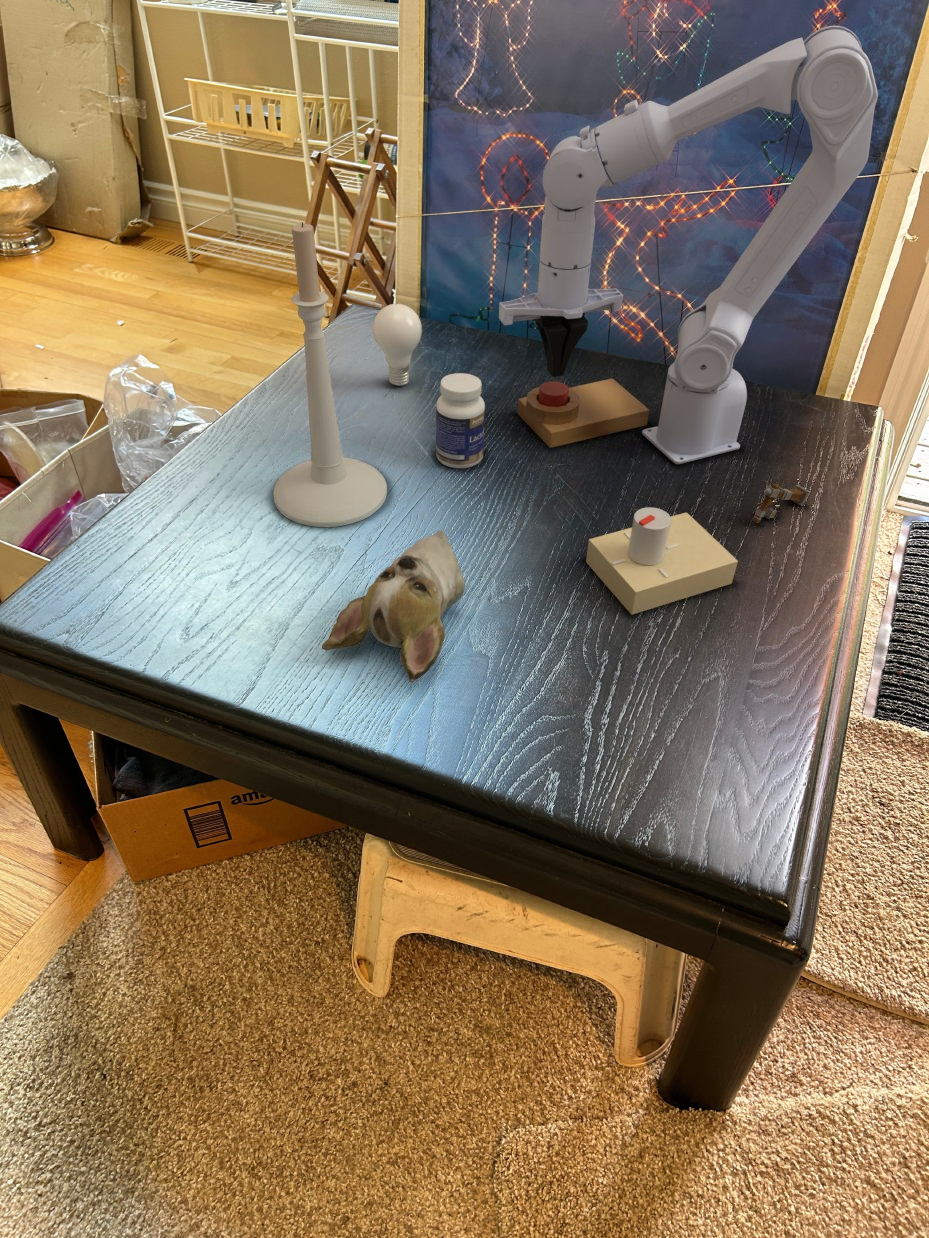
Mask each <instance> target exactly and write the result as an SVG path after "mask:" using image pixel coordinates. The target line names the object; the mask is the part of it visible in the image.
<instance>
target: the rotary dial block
mask: <svg viewBox="0 0 929 1238" xmlns="http://www.w3.org/2000/svg"><path fill="white" fill-rule="evenodd" d="M670 517H671V526H670V530H669V535H668V540H667V545H666V550H665V554H664V559H663V560H662V561H661V562H660V563H658V564H656V565H650V566H647V565H641V564H638V563H636V562H634V561H633V560H631V558H630V557H629V555H628V548H629V542H630V537H631V531H632V527H629V528H625V529H621V530H618V531H614V532H610V533H607V534H603V535H600V536H596V537H593V538H589V539H588V543H587V552H586V557H585V558H586V560H585V562H586V564H587V565H588V566H589V568H591V570H592V571H593V572H594V573H595V574H596V576H597V577H598V578H599V579H600V580H601V581H602V582H603V584H604V585H605V586H606V587H607V588H608V589H609V590H610V592H611V593H612V594H613V595H614V596H615V597H616V599H617V600H618V601H619V602H620V603H621V604H622V606H623V607H624V608H625V609H626V610H627V612H628V614H630V615H631V616H632V615H636V614H639V613H642V612H645V611H649V610H653V609H655V608H658V607H660V606H665V605H668V604H671V603H674V602H678V601H680V600H684V599H688V598H691V597H693V596H697V595H700V594H703V593H707V592H710V591H712V590H717V589H719V588H723V587H725V586H729V585H732V584H733V580H734V578H735V573H736V571H737V566H738V563H739V560H738V559H737V558H735V556H734V555H732V553H730V551H728V550H727V549H726V548H725V547H724V546H723V545H722V544H721V543H720V542H719V541H718V540H716V539H715V538H714V536H712V535H711V534H710V533H709V532H708V531H707V530H706V529H705V528H704V527H703V526H702V525H701V524H700V523H698V521H696V520H695V519H694V518H693V516H691V515H690V514H689V513H688V512H683V513H679V514H675V515H672V516H670Z"/></svg>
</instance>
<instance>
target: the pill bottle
mask: <svg viewBox="0 0 929 1238" xmlns="http://www.w3.org/2000/svg"><path fill="white" fill-rule="evenodd" d="M439 386H440V388H439V392H440V394H441V395H440V396H439V397H438V399H437V400H436V406H435V456H436V458H437V461H439V462H440V463H441V464H442V465H444V466H445V467H449V468H452V469H468V468H472V467H474V466H477V465H478V464H479V463H480V462H481V461H482V460H483V458H484V451H485V450H484V449H485V448H484V447H485V446H484V445H485V420H486V419H485V418H486V403H485V401H484V398H482V396H481V394H482V390H483V389H482V387H483V385H482V381H481V379H480V378H479V377H478V376H475V375H473V374H470V373H466V372H465V373H463V372H458V373H457V372H455V373H449V374H447V375H445V376H443V377H442V379H440V385H439Z"/></svg>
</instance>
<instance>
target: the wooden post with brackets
mask: <svg viewBox="0 0 929 1238" xmlns="http://www.w3.org/2000/svg"><path fill="white" fill-rule="evenodd" d="M810 493H811V491H810V490H808V489H806V488H805V487H802V486H801V485H799V484H795V486H794V488H793V489H787V488H783V487H780V486H779V484H777V483H773V484H771V486H770V485H767V486H766V488H765V490H764V492H763V494H764V495H765V497H764V499H763V500H762V502H761V504H760V506H759V507H758V508H757V509H756V511H755V513H754V516H753V518H752V521H753V522H754V523H757V524H759V523H760V522H761V520H762V518H765V519H767V520H770V518H771V519H774V518H775V517H776V515H777V513H778V511H777V510H776V509H774V508H772V507H769V506H770V505H771V504H772V503H773V502H774V501H775V500H776V499H780V500H784V501H785V500H786V501H793V502H794V503H795V504H797V505H799V506H801V507H803V506H804V505H805V503H806V501H807V499H808V497H809V496H810Z"/></svg>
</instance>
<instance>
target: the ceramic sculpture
mask: <svg viewBox="0 0 929 1238" xmlns="http://www.w3.org/2000/svg"><path fill="white" fill-rule="evenodd" d="M465 589H466V581H465V578H464V577H463V574H462V570H461V567H460V564H459V562H458V559H457V558H456V555H455V552H454V549H453V547H452V545H451V543H450V541H449V540H448V537H447V534H446V532H445V531H444V530H442V529H440V530H438V531H436V532H435V533H434V534H431V535H429V536H426V537H424V538H422V539H419V540H417V541H416V542H415V543H414V544H412V545H411V546H409V547H408V548H407V549H406V550H405V551H403V553H402V554H401V555H400V556H398V557H397V558H395V559H394V560H393V562H392V563H391V564H390V566H388V567H386V568H385V569H384V570H383V571H382V572H380V573H379V575H378V576H377V578H375V580H374V582H373V583H372V584H371V585H369V587H368V589H367V591H366V593H365V595H363V596H359V597H357V598H355V599H353V600H350V601H349V602H348V604H347V605H346V607H345V608H344V609H342V610H341V611H340V612H339V614H338V616H337V618H336V622H335V623H334V624H333V626H332V629H331V631H330V633H329V636H328V638H327V639H326V640H324V642H323V644H322V645H321V649H322V650H324V651H330V650H331V651H332V650H339V649H340V650H341V649H346V648H351V647H357V646H359V645H360V644H362V643H363V642H364V640H365V639H366V637H367V635H368V633H370V631H371V632H372V634H373V636H374V637H375V639H376V640H377V641H378V642H380V643H382V644H384V645H386V646H389V647H393V648H399V649H400V648H401V649H400V659H399V660H400V663H401V665H402V667H403V668H404V670H405V672H406V674H407V677H408V681H409V682H410V683H414V682H415V681H417V680H418V679H420V678H421V677H423V676H424V675H426V674H427V673H428V672H429V671H430V669H431V668H432V667H433V666H434V665H435V663H436V661H437V660H438V657H439V655H440V652H441V650H442V648H443V643H444V640H445V639H446V638H445V637H446V635H445V627H444V625H443V623H442V620H441V618H442V616H443V615H444V613H445V612H446V608H448V607H451V606H453V605H455V604H456V603H457V602H459V600H460V599H462V597H463V595H464V593H465Z"/></svg>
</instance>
